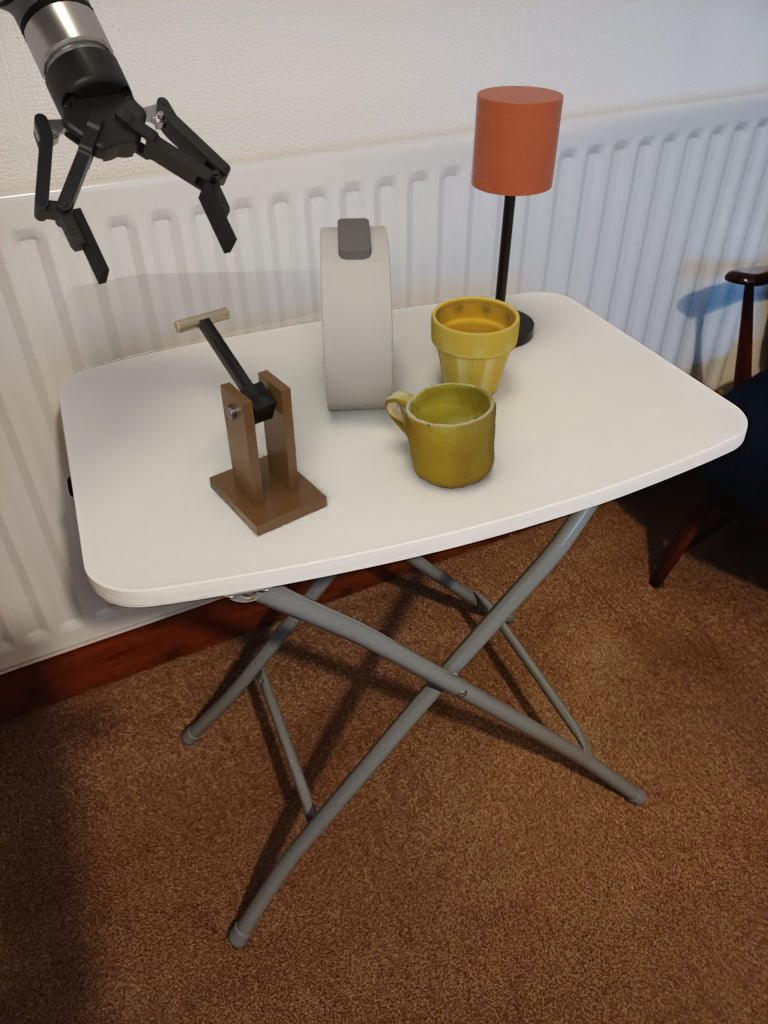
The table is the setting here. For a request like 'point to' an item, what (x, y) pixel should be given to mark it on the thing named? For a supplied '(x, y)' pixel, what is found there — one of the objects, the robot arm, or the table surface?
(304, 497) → the wooden lever stand
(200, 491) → the table surface
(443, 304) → the flower pot
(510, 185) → the lamp
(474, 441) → the mug
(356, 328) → the alarm clock
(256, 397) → the switch lever
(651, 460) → the table surface
